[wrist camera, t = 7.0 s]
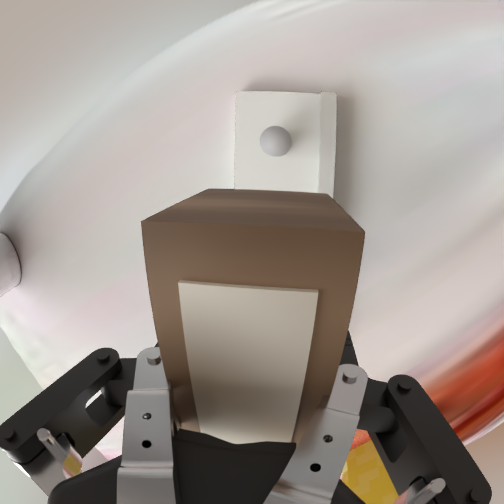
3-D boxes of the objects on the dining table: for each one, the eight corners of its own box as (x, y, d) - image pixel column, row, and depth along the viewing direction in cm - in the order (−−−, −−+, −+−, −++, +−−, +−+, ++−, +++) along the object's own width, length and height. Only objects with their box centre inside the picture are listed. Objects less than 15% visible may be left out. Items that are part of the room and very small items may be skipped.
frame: (300, 399, 15) (298, 486, 10) (218, 392, 16) (193, 474, 10) (327, 193, 11) (367, 233, 6) (208, 188, 12) (137, 222, 6)
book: (419, 408, 31) (457, 547, 8) (434, 420, 32) (469, 541, 9) (333, 456, 37) (334, 581, 14) (354, 465, 38) (360, 577, 14)
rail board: (237, 350, 30) (226, 391, 24) (238, 95, 22) (222, 76, 16) (309, 355, 30) (311, 397, 24) (331, 98, 21) (346, 80, 15)
